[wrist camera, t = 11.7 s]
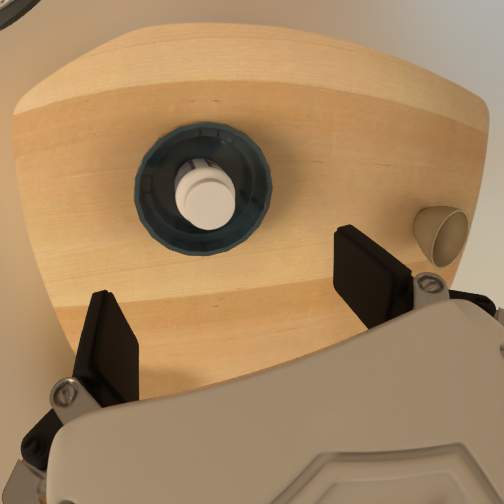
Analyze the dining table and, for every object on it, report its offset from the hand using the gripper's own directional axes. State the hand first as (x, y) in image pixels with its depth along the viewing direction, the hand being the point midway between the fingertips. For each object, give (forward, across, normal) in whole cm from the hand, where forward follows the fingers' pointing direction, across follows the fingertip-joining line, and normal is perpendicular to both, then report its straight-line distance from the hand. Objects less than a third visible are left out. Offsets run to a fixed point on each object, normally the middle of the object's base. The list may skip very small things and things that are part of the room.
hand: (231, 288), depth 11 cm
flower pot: (+21, -35, +14) cm, 43 cm away
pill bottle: (+21, -1, +1) cm, 21 cm away
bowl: (+21, -1, +1) cm, 21 cm away
